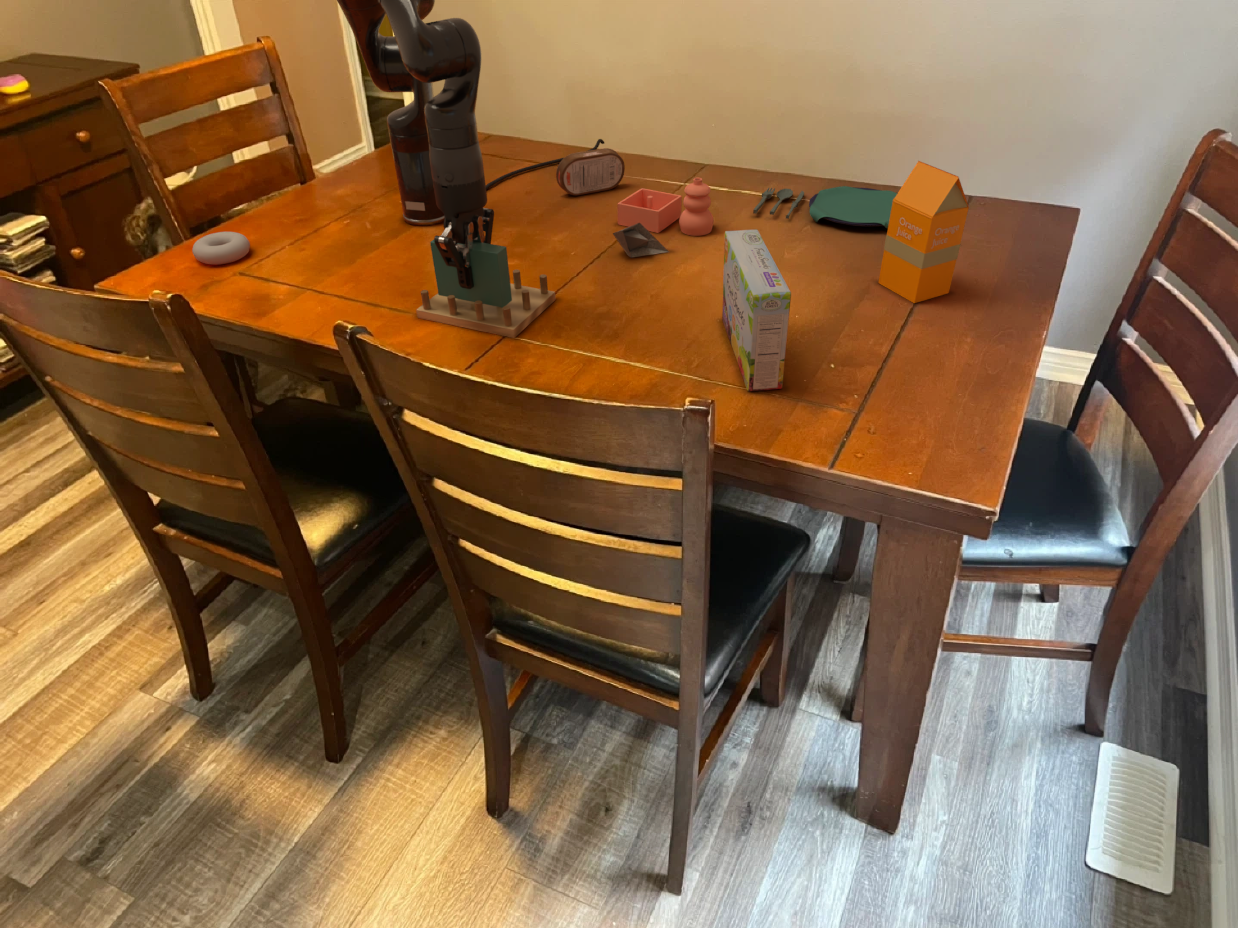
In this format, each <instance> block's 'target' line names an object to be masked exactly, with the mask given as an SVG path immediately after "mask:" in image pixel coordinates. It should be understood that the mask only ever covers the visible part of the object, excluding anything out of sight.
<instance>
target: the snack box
mask: <svg viewBox="0 0 1238 928" xmlns="http://www.w3.org/2000/svg"><path fill="white" fill-rule="evenodd" d="M760 233H761V232H760V231H759V230H758V229H756V228H755V229H741V230H740V229H739V230H725V232H724V244H723V245H724V246H723V247H724V248H723V275H722V276H723V278H722V279H723V280H722V282H723V284H722V314H721V318H722V319H721V321H722V323H723V326H724V329H725V332H726V335H727V338H728V340H729V343H730V345H731V348H732V351H733V354H734V357H735V360H736V363H737V365H738V366H737V367H738V368H739V372H740V374H741V377H742V379H743V383H744V385H745V388H746V391H747V392H755V391H769V390H778V389H779V390H781V389H783V384H784V383H783V382H784V374H785V373H784V371H785V362H786V361H785V360H786V352H787V340H788V329H789V321H790V320H789V319H790V311H791V302H792V301H791V300H792V291H791V290H790V288H789V286H788V284H787V282H786V281H785V279H784V276H783V275H782V273H781V271H780V270H779V268H778V266H777V264H776V262H775V260H774V258H773V256H772V254H771V253H770V250H769V249H768V247H767V244H766V243H765V241H764V239H763V237H762V234H760Z"/></svg>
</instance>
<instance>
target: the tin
mask: <svg viewBox="0 0 1238 928" xmlns="http://www.w3.org/2000/svg"><path fill="white" fill-rule="evenodd" d="M564 157H565V158H564ZM564 157H562V158H563V159H562V161H561V162H559V163H558V165H557V168H556V173H555V176H556V177H555V178H556V182H557V185H558V186H559V188H561V189H562V190H563V191H564V192H565V193H567V194H569V195H571V196H583V195H587V194H594V193H599V192H604V191H609V190H613V189H614V188H617V186H619V184H620V183H621V181H622V180H623V178H624V175H625V170H626V169H625V168H626V167H625V166H626V165H625V161H624V159H623V158H622V156H620V154H618V152H617V151H616V150H614V149H612V148H609V147H605V148H597V149H596V150H591V151H588V150H585V151H579V152H573V153H569V154H567V155H566V156H564Z"/></svg>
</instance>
